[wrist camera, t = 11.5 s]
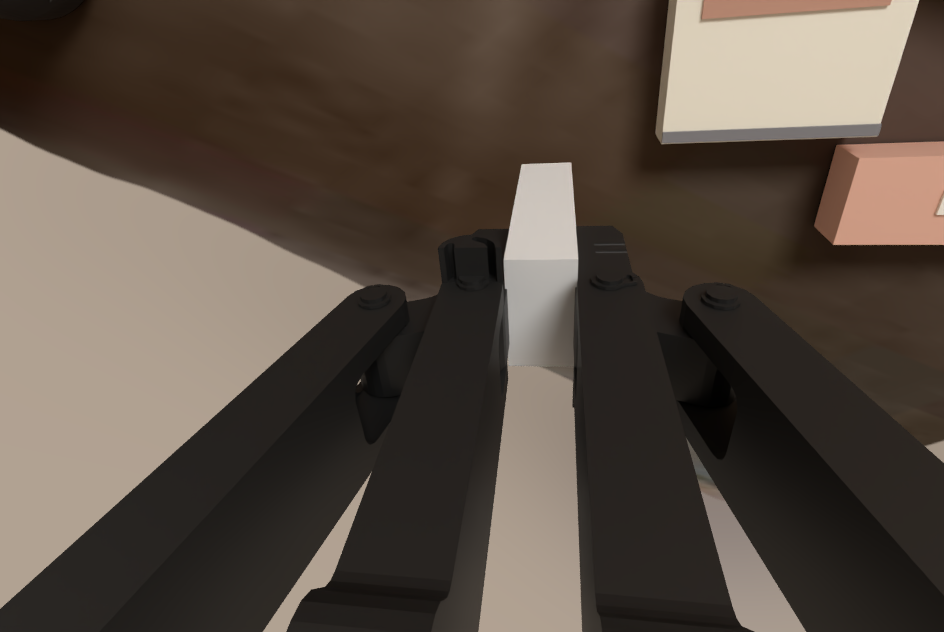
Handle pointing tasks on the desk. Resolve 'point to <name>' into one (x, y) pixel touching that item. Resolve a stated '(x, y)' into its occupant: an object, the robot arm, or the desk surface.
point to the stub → (884, 195)
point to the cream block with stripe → (779, 68)
